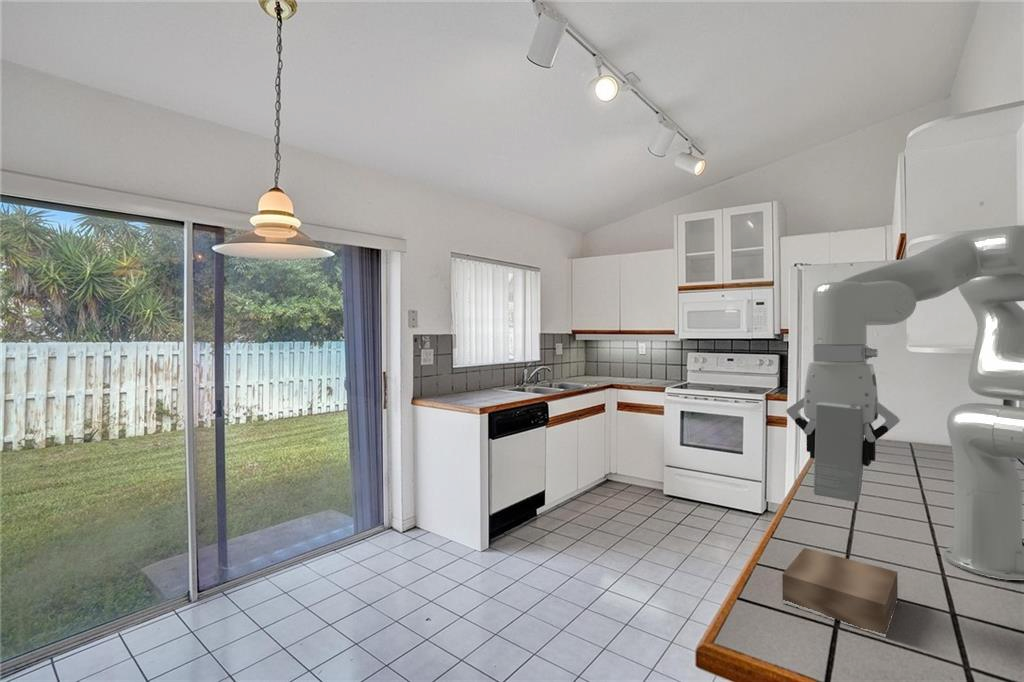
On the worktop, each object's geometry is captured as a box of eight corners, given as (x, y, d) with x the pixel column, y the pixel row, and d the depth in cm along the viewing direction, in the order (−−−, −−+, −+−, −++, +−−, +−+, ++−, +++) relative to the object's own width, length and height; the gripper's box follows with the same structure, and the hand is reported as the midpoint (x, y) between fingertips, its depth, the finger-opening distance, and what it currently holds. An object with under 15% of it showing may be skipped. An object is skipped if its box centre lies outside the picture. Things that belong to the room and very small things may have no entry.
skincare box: (819, 483, 89) (817, 396, 89) (868, 490, 84) (866, 398, 84) (811, 496, 82) (809, 401, 82) (864, 504, 78) (862, 404, 77)
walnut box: (897, 600, 83) (897, 571, 83) (885, 638, 73) (885, 605, 73) (804, 573, 93) (804, 547, 93) (782, 603, 83) (782, 574, 83)
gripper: (907, 355, 79) (908, 465, 80) (788, 353, 92) (789, 448, 92) (901, 357, 74) (902, 475, 74) (776, 355, 86) (777, 456, 86)
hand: (839, 459), depth 83 cm, fingers closed on skincare box, 6 cm apart
